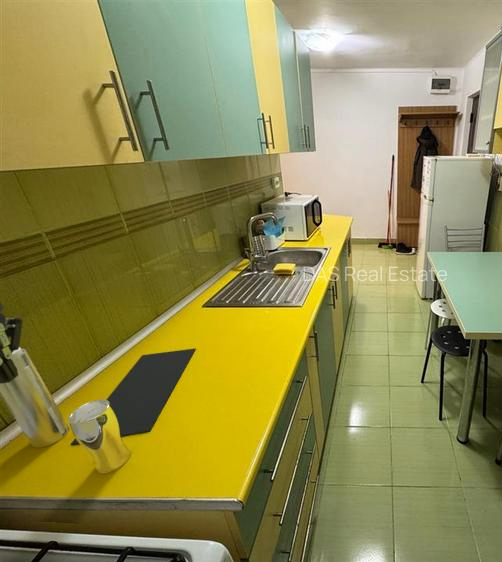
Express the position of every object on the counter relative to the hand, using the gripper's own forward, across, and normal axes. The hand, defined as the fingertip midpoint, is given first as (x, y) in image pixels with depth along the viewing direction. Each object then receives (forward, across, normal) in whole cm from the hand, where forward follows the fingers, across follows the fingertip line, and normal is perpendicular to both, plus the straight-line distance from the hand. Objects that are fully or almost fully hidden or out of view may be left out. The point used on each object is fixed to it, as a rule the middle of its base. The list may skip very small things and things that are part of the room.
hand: (7, 379), depth 54 cm
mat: (+27, -28, +3) cm, 39 cm away
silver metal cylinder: (+27, -14, -12) cm, 33 cm away
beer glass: (+27, -3, +7) cm, 28 cm away
